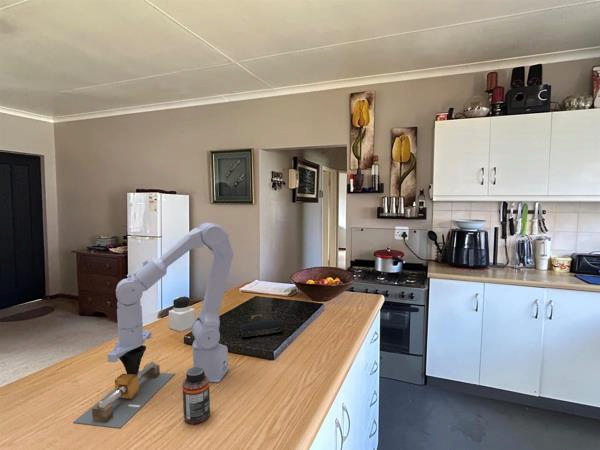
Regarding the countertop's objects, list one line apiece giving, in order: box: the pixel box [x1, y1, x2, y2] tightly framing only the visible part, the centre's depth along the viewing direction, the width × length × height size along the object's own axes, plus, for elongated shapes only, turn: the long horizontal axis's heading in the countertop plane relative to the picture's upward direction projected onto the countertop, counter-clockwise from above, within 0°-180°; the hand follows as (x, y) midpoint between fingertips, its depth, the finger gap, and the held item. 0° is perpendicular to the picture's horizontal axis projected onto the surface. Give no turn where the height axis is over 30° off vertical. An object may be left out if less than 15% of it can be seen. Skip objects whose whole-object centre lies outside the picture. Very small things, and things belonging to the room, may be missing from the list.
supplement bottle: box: [182, 366, 211, 425], centre depth 78 cm, size 6×6×11 cm
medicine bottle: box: [168, 295, 196, 333], centre depth 132 cm, size 7×7×12 cm
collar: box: [114, 373, 139, 399], centre depth 85 cm, size 4×3×5 cm
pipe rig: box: [72, 361, 176, 429], centre depth 86 cm, size 12×23×4 cm, turn 171°
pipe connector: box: [239, 314, 283, 332], centre depth 128 cm, size 12×5×15 cm
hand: (132, 375), depth 87 cm, fingers closed
